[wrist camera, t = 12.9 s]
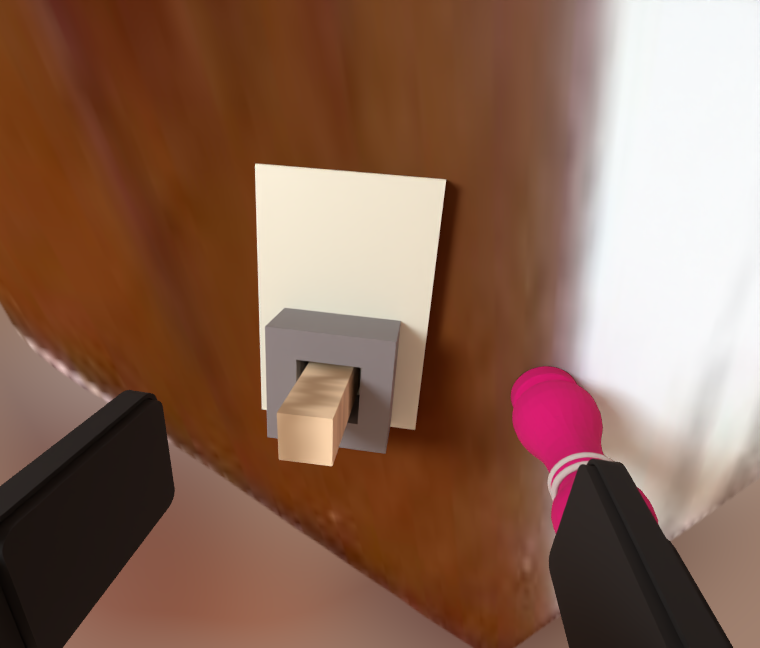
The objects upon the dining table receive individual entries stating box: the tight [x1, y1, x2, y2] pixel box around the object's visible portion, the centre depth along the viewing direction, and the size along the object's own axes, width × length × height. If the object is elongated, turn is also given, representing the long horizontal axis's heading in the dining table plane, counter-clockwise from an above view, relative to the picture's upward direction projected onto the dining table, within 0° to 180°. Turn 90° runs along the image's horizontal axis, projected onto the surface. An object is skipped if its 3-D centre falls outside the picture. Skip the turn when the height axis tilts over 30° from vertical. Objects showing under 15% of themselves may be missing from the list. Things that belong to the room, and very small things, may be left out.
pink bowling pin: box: [511, 366, 658, 533], centre depth 32 cm, size 7×7×20 cm
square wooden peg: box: [277, 361, 360, 466], centre depth 36 cm, size 4×4×12 cm
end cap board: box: [255, 164, 446, 454], centre depth 38 cm, size 16×24×6 cm, turn 176°
